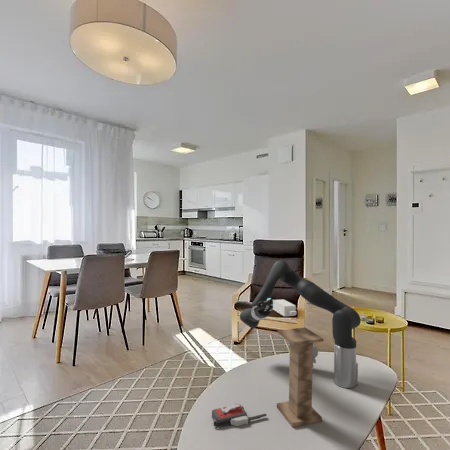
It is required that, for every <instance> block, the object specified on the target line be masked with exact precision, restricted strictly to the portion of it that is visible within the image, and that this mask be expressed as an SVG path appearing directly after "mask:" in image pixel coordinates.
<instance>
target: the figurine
mask: <svg viewBox="0 0 450 450" xmlns="http://www.w3.org/2000/svg"><path fill="white" fill-rule="evenodd" d="M318 355H319V349H318V347H317V346H316V345H315V344H313V364H317V360H316V357H318ZM313 368H314V365H313V366H312V369H313Z"/></svg>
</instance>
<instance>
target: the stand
mask: <svg viewBox="0 0 450 450" xmlns="http://www.w3.org/2000/svg"><path fill="white" fill-rule="evenodd" d="M277 333H278V334H279V335H280V336H282V337H283V338H284V339H286V341H288V342H289V369H288V371H289V373H288V377H289V378H288V379H289V380H288V381H289V383H288V387H289V388H288V401H283V402H277V403H276V408H277V410H278V411H279V412H280V413H281V414H282V416H283V417H284V418H285V420H286V421H287V422H288V424H289V425H290V426H291V427H292V428H297V427H301V426H306V425H311V424H316V423H320V422H322V421H323V417H322V416H321V414H320V413H319V412H318V411H316V409H314V407H313V368H312V366H313V367H314V362H313V345H314V343H321V342H324V338H323V337H322V336H320V335H318V334H316V333H315V332H313V331H311V330H310V329H308V328H307V327H298V328H287V329H285V328H284V329H278V330H277Z"/></svg>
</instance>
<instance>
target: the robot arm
mask: <svg viewBox="0 0 450 450" xmlns="http://www.w3.org/2000/svg"><path fill="white" fill-rule="evenodd" d="M266 277H267V278H266V279H265V281H264V284H263V285H262V287H261V289H260V290H259V292H258V293H257V295H256V296H255V298H254V300H253V301H252V302H251V306H252V307H249V308H245V309H243V310H242V311H241V313H240V315H239V319H240V321H241V322H243V323H244V324H245V325H246V326H248V327H249V328H251V329H256V328H257V327H258V326H259V323H260V321H261V320H263V319H265V318H268V317H269V316H270V315H271V313H272V311H273V306H272V304H273V300H280V299H279V298H275V299H273V298H272V296H273V293H274V289H275V287H276V284H277V283H278V281H279V280H280V281H281V282H283V283H285V284H286V285H288V286H290V287H291V289H293V290H295V291H296V293H297V294H298V295H300V296H301V297H302V298H303V299H304V300H305V301H307V302H308V303H309V304H311V305H312V306H315V307H317V308H320V309H322V310H326V311H327V312H329V313H331V314H332V317H331V318H332V320H331V321H332V322H331V324H332V338H333V340H334V343H333V344H334V345H333V346H334V348H333V350H334V351H333V352H334V353H333V382H334V383H335V385H337V386H339V387H341V388H345V389H353V388H355V387H356V386H357V385H358V384H359V382H358V378H359V377H358V376H359V374H358V373H359V372H358V371H359V363H358V362H357V340H356V338H355V337H353V330H354V329H356V328H357V327H359V326H360V324H361V321H362V320H361V316H360V314H359V313H358V312H357V311H356V310H355V309H354V308H352V307H350V306H349V305H347V304H345V303H343V302H342V301H340V300H338V299H337V298H335V297H334V296H332V294H330V293H329V292H327V291H326V290H324V289H323V288H321V287H320V286H319V285H318V284H316V283H315V282H313V281H311V280H310V279H307V278H303V277H302V276H300V275H299V274H298V273H296V271H294V270H293V269H292V267H291V266H290V265H289V263H287V262H286V261H285V260H283V259H280V260H276V261H275V262H274V263H273V265H272V267H271V269H270V271H269V274H268V275H267V276H266ZM268 298H271V299H270V300H268V301H267V299H268ZM272 299H273V300H272Z"/></svg>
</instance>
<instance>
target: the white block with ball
mask: <svg viewBox="0 0 450 450" xmlns="http://www.w3.org/2000/svg"><path fill="white" fill-rule="evenodd" d="M270 299H272V300H273V304H272V306H273V309H272V311H275V312H277V313H278V314H280V315H281V316H283V317H292V316H293V317H294V316H296V315H297V311H296V308H297V307H296V306H297V305H296V304H293V303H292V302H290V301H288V300H286V299H283V298H282V299H279V300H275V299H273V298H272V297H271V298H268V299H267V301H268V300H270Z"/></svg>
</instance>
